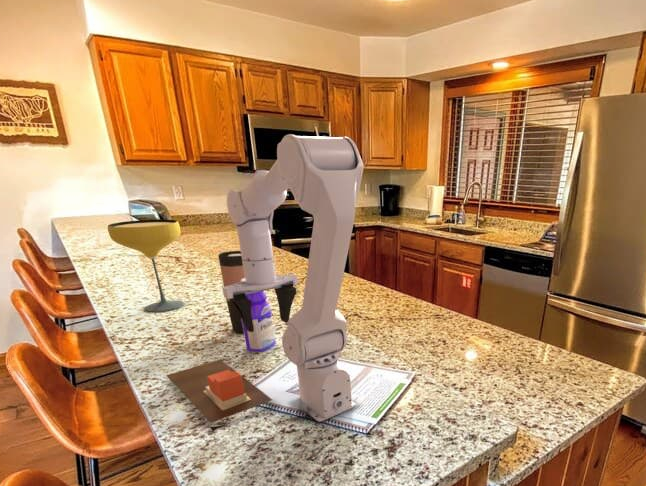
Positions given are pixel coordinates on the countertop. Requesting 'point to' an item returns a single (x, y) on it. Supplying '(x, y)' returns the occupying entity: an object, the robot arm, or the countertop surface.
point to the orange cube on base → (226, 387)
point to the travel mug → (232, 282)
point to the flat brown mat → (195, 391)
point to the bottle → (259, 324)
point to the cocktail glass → (148, 247)
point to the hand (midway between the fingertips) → (268, 325)
